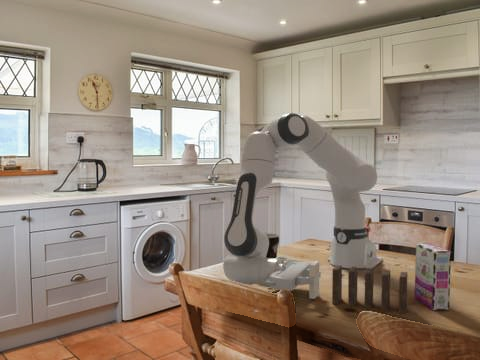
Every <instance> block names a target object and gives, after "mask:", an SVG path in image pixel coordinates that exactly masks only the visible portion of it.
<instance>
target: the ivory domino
mask: <svg viewBox="0 0 480 360" xmlns="http://www.w3.org/2000/svg"><path fill="white" fill-rule="evenodd" d="M319 272H320V261H319V260H313V261H312V262H311V263H310V265H309V277H314V278H315V283H314V284H313V285H310V284H308V286H309V289H308V290H309V291H308V292H309V294H308V295H309V296H308V297H309V299H311V300H315V299H317V297H319V295H320V278H319Z"/></svg>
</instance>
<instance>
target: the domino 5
mask: <svg viewBox="0 0 480 360" xmlns="http://www.w3.org/2000/svg"><path fill="white" fill-rule="evenodd" d="M398 284H399V285H398V287H399V288H398V289H399V290H398V295H399V296H398V314H403V315H406V312H407V307H408V303H407V302H408V272H406V271H401V272H400V274H399V282H398Z"/></svg>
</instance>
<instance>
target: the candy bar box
mask: <svg viewBox="0 0 480 360" xmlns="http://www.w3.org/2000/svg"><path fill="white" fill-rule="evenodd" d="M451 264H452V251H451V250H448V249H446V248H443V247H441V246H438V245H435V244H432V243H427V242H426V243H424V242H423V243H415V275H414V299H416V300H417V301H418V302H420V303H422V304H423V305H424V306H426V307H427V308H429V309H430V310H432V311H438V312H440V311H449V310H450V297H451V296H450V295H451V294H450V293H451V292H450V288H451V267H452V266H451Z"/></svg>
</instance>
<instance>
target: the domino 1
mask: <svg viewBox="0 0 480 360" xmlns="http://www.w3.org/2000/svg"><path fill="white" fill-rule="evenodd" d="M331 279H332V281H331V283H332V287H331V288H332V292H331V294H332V298H331V299H332V301H331V302H332V305H339V304H340V302H341V301H342V299H343V297H342V296H343V293H342V291H343V289H342V288H343V287H342V286H343V268H342V266H340V265H336V266H334V267H333V269H332V278H331Z"/></svg>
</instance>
